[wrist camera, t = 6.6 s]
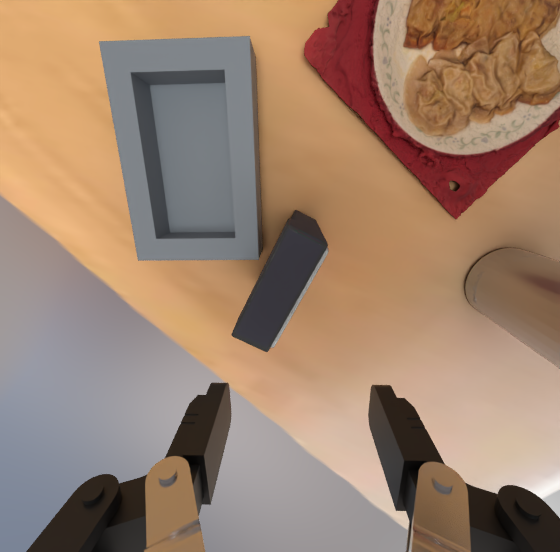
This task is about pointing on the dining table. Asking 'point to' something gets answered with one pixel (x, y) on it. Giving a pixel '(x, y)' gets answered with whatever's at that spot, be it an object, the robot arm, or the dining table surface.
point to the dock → (188, 145)
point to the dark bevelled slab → (282, 282)
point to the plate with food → (447, 83)
